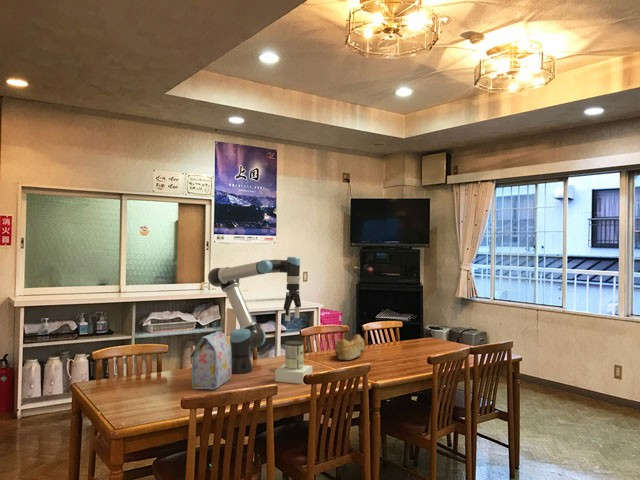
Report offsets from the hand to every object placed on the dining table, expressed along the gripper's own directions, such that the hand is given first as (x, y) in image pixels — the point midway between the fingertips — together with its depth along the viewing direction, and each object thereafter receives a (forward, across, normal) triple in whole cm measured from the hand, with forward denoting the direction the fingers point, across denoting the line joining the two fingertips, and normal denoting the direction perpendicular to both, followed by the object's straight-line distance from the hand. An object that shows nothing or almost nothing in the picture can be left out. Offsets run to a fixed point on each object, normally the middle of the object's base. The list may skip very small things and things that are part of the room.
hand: (292, 319), depth 283 cm
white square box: (+30, -15, -8) cm, 34 cm away
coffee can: (+24, -15, -8) cm, 30 cm away
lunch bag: (+31, -42, +28) cm, 59 cm away
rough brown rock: (+30, +48, -20) cm, 60 cm away
